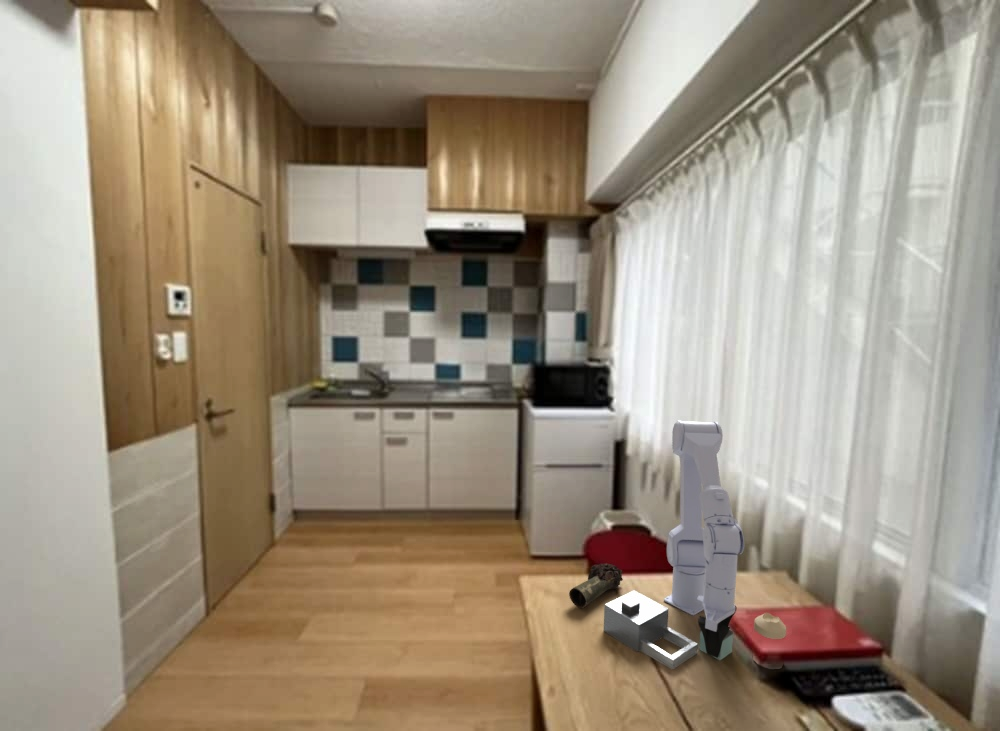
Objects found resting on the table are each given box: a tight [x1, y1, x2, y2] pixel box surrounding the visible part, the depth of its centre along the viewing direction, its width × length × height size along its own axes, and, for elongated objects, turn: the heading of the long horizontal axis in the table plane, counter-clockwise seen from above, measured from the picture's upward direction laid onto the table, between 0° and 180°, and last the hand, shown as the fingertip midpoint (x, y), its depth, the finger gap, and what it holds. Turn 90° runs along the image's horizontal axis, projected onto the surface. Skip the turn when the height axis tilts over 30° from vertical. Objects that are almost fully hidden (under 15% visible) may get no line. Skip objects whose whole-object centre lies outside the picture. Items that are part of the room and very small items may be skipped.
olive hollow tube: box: [568, 563, 623, 609], centre depth 124 cm, size 18×7×6 cm, turn 136°
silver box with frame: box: [603, 590, 699, 670], centre depth 107 cm, size 13×16×8 cm
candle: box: [753, 612, 787, 639], centre depth 99 cm, size 6×6×10 cm
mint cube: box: [698, 629, 734, 661], centre depth 103 cm, size 4×4×5 cm
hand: (715, 646), depth 103 cm, fingers closed on mint cube, 6 cm apart
